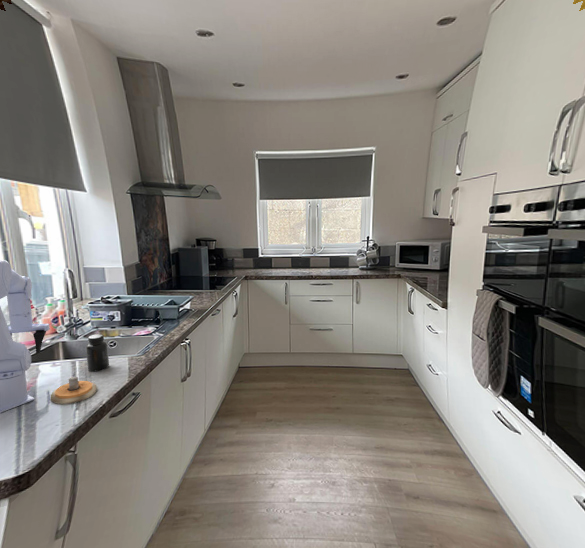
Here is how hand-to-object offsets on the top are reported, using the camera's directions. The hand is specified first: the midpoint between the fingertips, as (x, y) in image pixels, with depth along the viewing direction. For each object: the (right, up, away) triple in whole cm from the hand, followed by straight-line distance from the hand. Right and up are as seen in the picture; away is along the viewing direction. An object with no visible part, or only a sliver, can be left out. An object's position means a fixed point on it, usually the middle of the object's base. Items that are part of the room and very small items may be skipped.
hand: (24, 353), depth 113 cm
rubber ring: (+20, -10, -7) cm, 24 cm away
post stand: (+21, -11, -7) cm, 24 cm away
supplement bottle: (+17, -8, +12) cm, 23 cm away
